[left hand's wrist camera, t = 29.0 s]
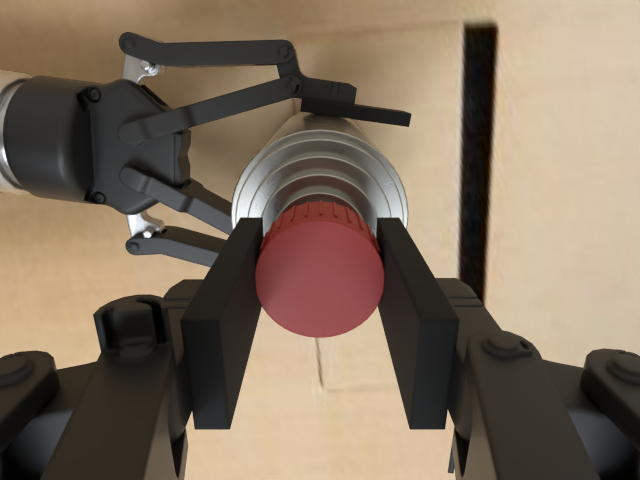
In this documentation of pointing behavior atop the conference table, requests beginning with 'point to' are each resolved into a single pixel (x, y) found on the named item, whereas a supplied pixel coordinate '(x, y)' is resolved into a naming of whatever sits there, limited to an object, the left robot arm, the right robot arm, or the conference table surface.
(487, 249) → the conference table surface
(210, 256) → the right robot arm
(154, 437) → the left robot arm
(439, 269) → the conference table surface
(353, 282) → the cap
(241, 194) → the bottle
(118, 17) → the conference table surface
